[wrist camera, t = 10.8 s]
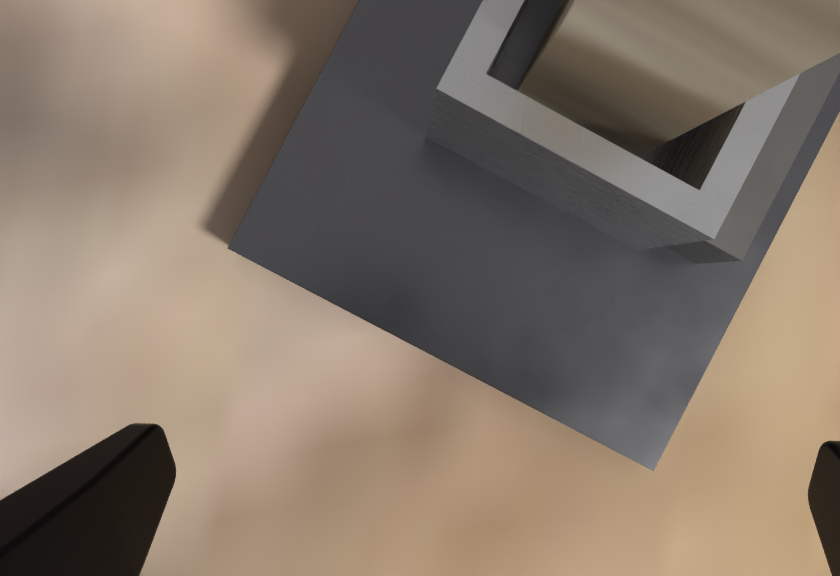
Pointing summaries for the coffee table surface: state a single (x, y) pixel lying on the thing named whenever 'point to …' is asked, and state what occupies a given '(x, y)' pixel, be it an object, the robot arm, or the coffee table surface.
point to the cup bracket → (528, 215)
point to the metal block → (672, 61)
